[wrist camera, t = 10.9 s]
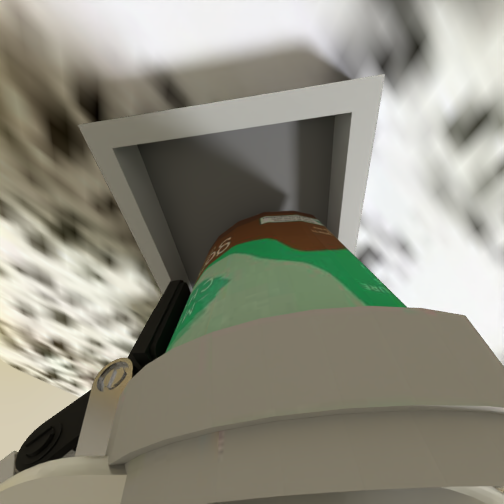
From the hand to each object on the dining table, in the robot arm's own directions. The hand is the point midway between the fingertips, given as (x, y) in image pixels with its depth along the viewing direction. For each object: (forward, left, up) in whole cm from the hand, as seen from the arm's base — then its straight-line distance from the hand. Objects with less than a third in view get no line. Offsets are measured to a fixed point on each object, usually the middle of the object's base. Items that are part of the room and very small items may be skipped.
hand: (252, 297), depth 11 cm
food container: (+1, 0, -3) cm, 3 cm away
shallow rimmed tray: (0, +3, -5) cm, 5 cm away
